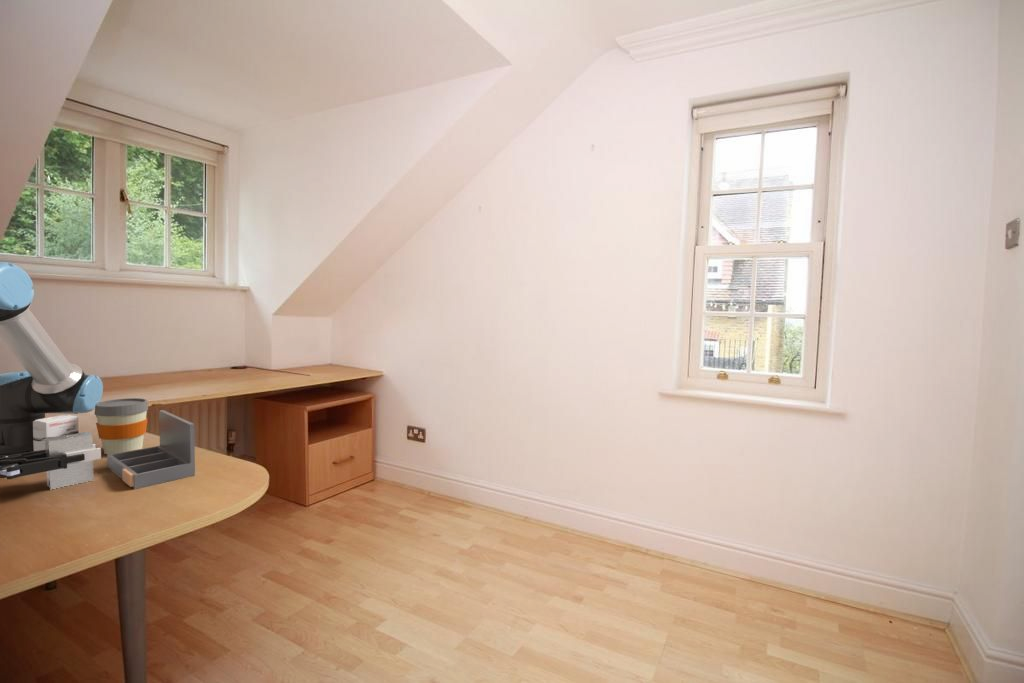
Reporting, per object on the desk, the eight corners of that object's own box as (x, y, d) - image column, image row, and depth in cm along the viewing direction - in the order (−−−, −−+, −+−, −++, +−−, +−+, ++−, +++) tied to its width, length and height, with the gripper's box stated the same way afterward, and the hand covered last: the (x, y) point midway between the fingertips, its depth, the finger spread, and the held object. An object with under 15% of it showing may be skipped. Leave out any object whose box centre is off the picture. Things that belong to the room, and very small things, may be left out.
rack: (104, 468, 130) (103, 417, 129) (164, 456, 141) (163, 410, 140) (131, 489, 117) (130, 433, 116) (194, 475, 128) (194, 424, 127)
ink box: (46, 464, 132) (45, 422, 131) (32, 462, 133) (31, 420, 132) (80, 454, 140) (79, 415, 139) (67, 453, 141) (65, 413, 140)
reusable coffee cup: (115, 459, 137) (113, 408, 136) (85, 454, 141) (83, 404, 139) (159, 447, 149) (158, 400, 148) (130, 443, 153) (129, 396, 151)
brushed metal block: (46, 485, 117) (45, 438, 116) (89, 477, 124) (88, 431, 123) (50, 490, 115) (48, 441, 114) (93, 481, 121) (92, 434, 120)
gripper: (-44, 481, 110) (89, 457, 129) (-35, 502, 100) (108, 473, 118) (-46, 449, 109) (88, 430, 128) (-37, 467, 99) (107, 443, 118)
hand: (97, 451), depth 123 cm, fingers closed on brushed metal block, 4 cm apart
